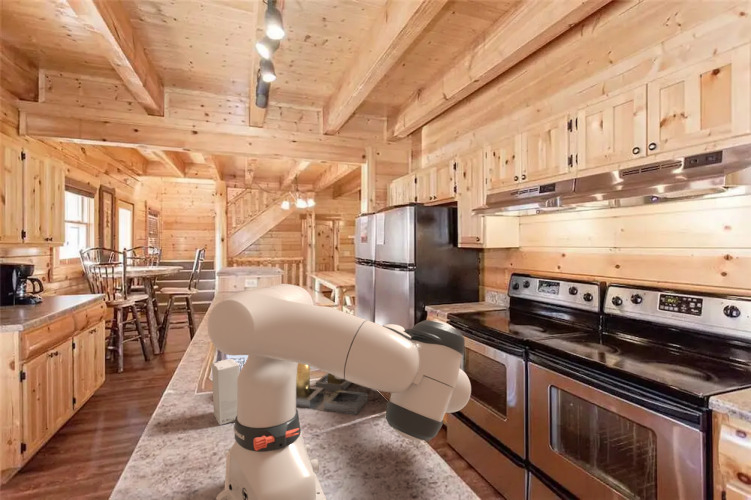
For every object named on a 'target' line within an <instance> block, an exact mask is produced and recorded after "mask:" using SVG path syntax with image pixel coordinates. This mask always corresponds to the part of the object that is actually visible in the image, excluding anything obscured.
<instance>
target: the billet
mask: <svg viewBox="0 0 751 500" xmlns="http://www.w3.org/2000/svg"><path fill="white" fill-rule="evenodd" d="M326 374H327V382H326V383H332V384H340V385H341V384H342V382H341V379H336V378H335V377H334V375H332V374H329V373H327V372H326Z"/></svg>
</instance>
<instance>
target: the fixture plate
mask: <svg viewBox="0 0 751 500" xmlns="http://www.w3.org/2000/svg"><path fill="white" fill-rule="evenodd" d="M324 392H325V390H324V388H320V387H316V386H311V385H310V396H309V397H307V398H306V397H298V396H296V408H300V409H308V410H313V411H323V412H329V413H336V414H344V415H350V416H351V415H352V416H358V415H359V413H360V411H362V409H363V408H364V406H365V405H366V403H367V402H368V401H369V398H368V393H367V392H360V391H353V390H346V389H345V390H336V391H333V393H324Z"/></svg>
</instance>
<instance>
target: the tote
mask: <svg viewBox="0 0 751 500" xmlns="http://www.w3.org/2000/svg"><path fill="white" fill-rule="evenodd" d="M351 384H352V382H349V381H347V380H344V379H341V384H332V383H327V373H325V374H324V375H323V376H322V377H320V378H319V379H318V380H317V381H316V382H315V387H320V388H324V391H327V392H328V391H330V392H335V391H336V390H345V391H346V389H348V387H349V386H350V385H351Z"/></svg>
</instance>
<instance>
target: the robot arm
mask: <svg viewBox="0 0 751 500" xmlns="http://www.w3.org/2000/svg"><path fill="white" fill-rule="evenodd" d="M208 315H209V316H208V318H207V319H208V320H207V333H208V337H209V339H210V341H211V343H212V345H213V346H214V347H215V348H216V350H217V351H219V352H221V353H222V354H225V355H227V356H247V358H246V361H245V362H244V365H243V366H242V368H241V369H240V370H239V372H240V373H239V375H238V379H237V416H236V418H235V422H234V425H233V432H234V443H233V444H232V447H230V449H229V450H228V452H227V453H226V455H225V456H226V459H225V475H224V476H225V479H224V489H223V490H222V491H220V492H219V493H218V494H217V496H216V498H215V500H327V498H326V495H325V494H324V493H325V492H324V491H323V488H322V486H321V483H320V481H319V479H318V476H317V474H316V473H318V472H320V465H319V460H318V459H317V458H314V459H310V457H309V452H310V445H309V443H308V444H307V443H306V444H305V441H304V438H303V433H302V429H301V420H300V415H299V411H298V409H297V407H296V377H297V368H298V363H300V364H305V365H308V366H310V368H314V369H317V370H319V371H322V372H325V373H326V374H327V373H329V374H332V375H334V377H335V378H336V379H344V380H347V381H349V382H352V383H353V384H355V385H358V386H361V387H364V388H368V389H372V390H376V391H379V392H386V393H390V397H389V400H388V401H387V403H386V407H385V408H386V409H385V419H386V422H387V423H388V426H390V427H391V428H393V430H394V431H395V432H396V433H397V434H399V436H401V437H403V438H404V439H407V440H410V441H415V442H421V441H423V442H424V441H425V442H428V441H431V440H433V439H434V438H435V437H436V436H437V435H438V433H439V431H440V430H441V428H442V426H443V424H444V417H445V415H446V413H448V414H450V413H452V414H453V413H456V412H459V411H461V410H463V408H464V407H466V405H467V404H468V403H469V401H470V400H471V399H470V398H471V395H472V385H471V381H470V379H469V377H468V375H467V373H466V372H465V371H464V370H463V369H462V368H461V363H462V356H464V354H465V344H466V343H465V337H464V335H463V334H462V333H461V332H460V331H459V330H458V329H456V328H455V327H453V325H450V324H449V323H447V322H445V321H443V320H436V319H435V320H429V319H427V320H426V319H425V320H422V321H420V322H418V323H416V324H415V325H414V326H413V327H412V328H406V327H403V326H401V325H399V324H395V323H394V324H393V323H392V324H391V323H388V324H382V325H380V324H378V323H376V322H373V321H370V320H369V319H366V318H362V317H359V316H357V315H354V314H351V313H348V312H345V311H343V310H339V309H336V308H334V307H332V306H331V307H330V306H325V305H324V306H322V305H314V300H313V298H312V296H311V294H310V293H309V291H308V290H306V289H305V288H303V287H301V286H300V285H299V286H298V285H295V284H290V283H289V284H288V283H279V284H274V285H267V286H263V287H259V288H258V287H257V288H253V289H248V290H244V291H239V292H236V293H234V294H233V295H231V296H228V297H226V298H224V299H223V300H221V301H219V302H218V303H216V304H215V305H214V307H212V308H211V311H210V312H209V314H208ZM352 383H351V384H352Z"/></svg>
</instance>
